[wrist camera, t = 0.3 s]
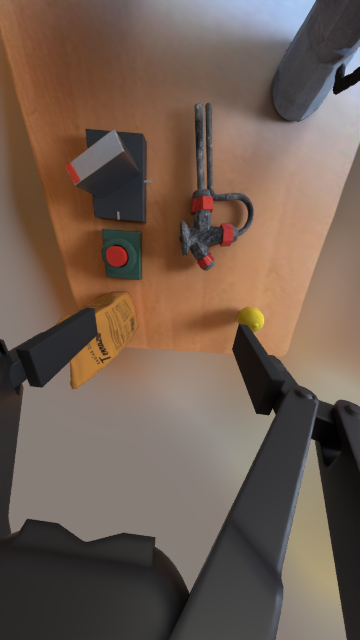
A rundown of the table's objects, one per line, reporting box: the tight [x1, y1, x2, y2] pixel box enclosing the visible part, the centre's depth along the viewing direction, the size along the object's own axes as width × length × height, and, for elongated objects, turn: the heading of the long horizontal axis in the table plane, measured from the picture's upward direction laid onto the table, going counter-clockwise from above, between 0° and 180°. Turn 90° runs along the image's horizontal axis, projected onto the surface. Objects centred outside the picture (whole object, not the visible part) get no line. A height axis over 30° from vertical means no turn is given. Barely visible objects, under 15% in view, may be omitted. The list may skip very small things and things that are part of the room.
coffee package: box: [56, 292, 138, 389], centre depth 35 cm, size 10×12×22 cm
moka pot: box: [273, 0, 360, 122], centre depth 17 cm, size 10×15×20 cm, turn 12°
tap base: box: [86, 129, 151, 223], centre depth 32 cm, size 13×13×3 cm
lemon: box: [238, 307, 264, 332], centre depth 39 cm, size 6×6×8 cm
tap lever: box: [65, 129, 140, 198], centre depth 27 cm, size 9×2×8 cm, turn 115°
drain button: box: [106, 246, 128, 267], centre depth 35 cm, size 4×4×2 cm
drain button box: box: [102, 229, 142, 280], centre depth 37 cm, size 10×8×4 cm
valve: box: [180, 102, 254, 270], centre depth 32 cm, size 6×26×15 cm
